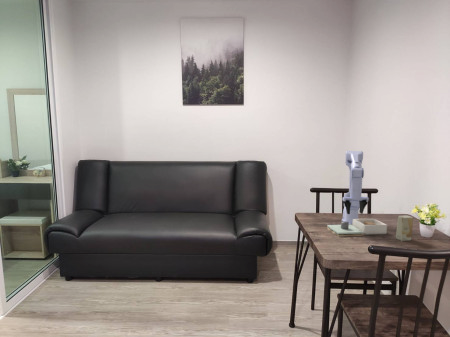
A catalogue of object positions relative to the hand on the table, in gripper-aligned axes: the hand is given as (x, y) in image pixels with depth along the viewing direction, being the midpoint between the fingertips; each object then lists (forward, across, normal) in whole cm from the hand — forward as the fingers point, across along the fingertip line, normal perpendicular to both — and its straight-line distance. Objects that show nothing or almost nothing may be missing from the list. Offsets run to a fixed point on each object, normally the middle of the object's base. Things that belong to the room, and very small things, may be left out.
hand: (354, 213), depth 194 cm
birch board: (+9, -7, -3) cm, 12 cm away
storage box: (+9, +8, -2) cm, 13 cm away
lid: (+9, -7, -3) cm, 12 cm away
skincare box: (+10, +18, -18) cm, 27 cm away
